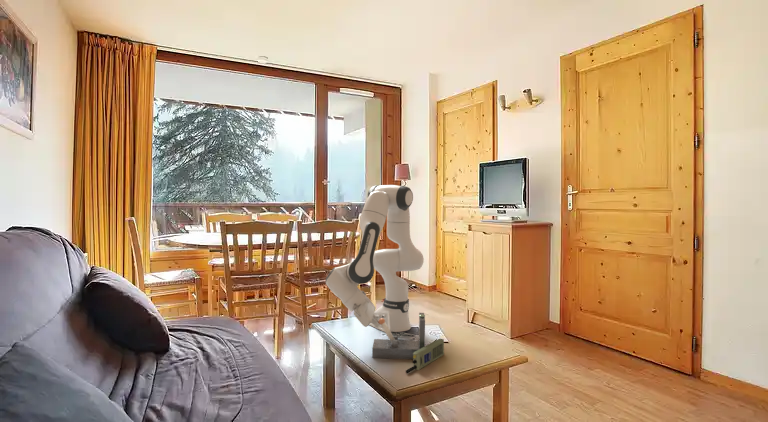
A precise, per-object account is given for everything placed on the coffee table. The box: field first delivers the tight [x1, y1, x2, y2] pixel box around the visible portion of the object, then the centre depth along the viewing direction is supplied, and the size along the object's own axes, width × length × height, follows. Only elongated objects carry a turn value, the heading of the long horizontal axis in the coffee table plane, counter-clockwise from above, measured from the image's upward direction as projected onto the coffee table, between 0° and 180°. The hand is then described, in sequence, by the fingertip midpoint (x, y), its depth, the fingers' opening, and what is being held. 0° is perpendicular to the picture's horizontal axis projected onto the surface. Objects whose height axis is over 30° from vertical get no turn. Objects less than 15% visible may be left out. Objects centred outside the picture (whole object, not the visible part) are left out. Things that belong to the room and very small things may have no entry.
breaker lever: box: [379, 318, 395, 343], centre depth 168 cm, size 3×3×12 cm
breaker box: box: [371, 312, 426, 360], centre depth 168 cm, size 21×10×17 cm, turn 87°
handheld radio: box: [405, 338, 445, 374], centre depth 159 cm, size 7×3×25 cm
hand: (378, 325), depth 168 cm, fingers closed, pressing on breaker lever
